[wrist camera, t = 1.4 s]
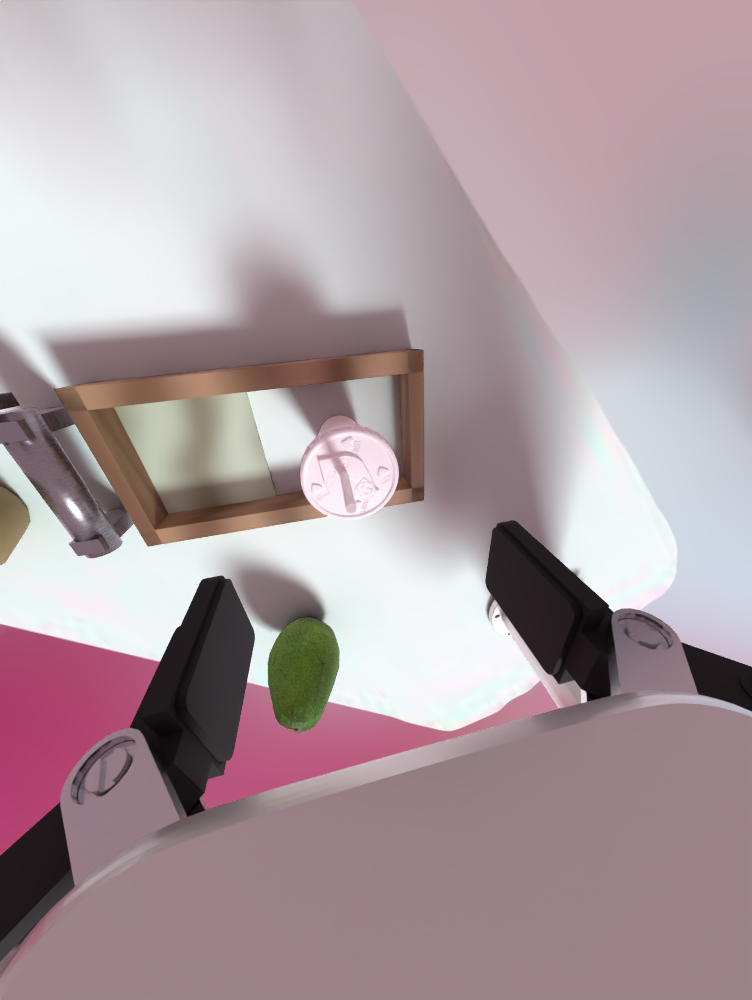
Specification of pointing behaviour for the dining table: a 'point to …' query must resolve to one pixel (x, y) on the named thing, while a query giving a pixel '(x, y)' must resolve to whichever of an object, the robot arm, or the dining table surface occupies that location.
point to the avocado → (302, 672)
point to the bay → (221, 442)
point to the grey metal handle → (59, 477)
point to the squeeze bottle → (11, 522)
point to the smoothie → (348, 470)
